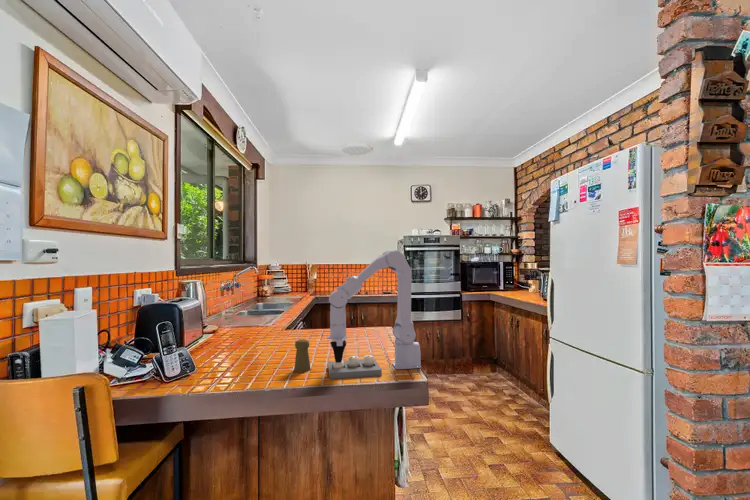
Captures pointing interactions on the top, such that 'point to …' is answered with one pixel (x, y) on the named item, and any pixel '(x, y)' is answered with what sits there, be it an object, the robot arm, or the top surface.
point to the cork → (302, 356)
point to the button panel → (354, 370)
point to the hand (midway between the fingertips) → (338, 361)
